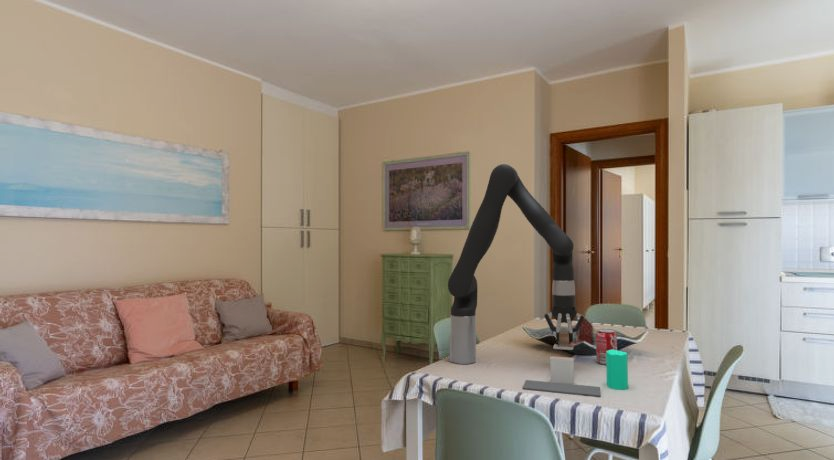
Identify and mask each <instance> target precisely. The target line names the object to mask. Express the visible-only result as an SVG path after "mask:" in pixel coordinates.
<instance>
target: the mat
mask: <svg viewBox="0 0 834 460" xmlns="http://www.w3.org/2000/svg"><path fill="white" fill-rule="evenodd" d="M522 390H524V391H525V390H527V391H535V392H536V391H538V392H546V393H547V392H548V393H556V394H567V395H574V396H575V395H576V396H585V397H586V396H587V397H595V398H601V397H602V394H601V387H600V386H595V385H594V386H593V385H585V384H584V385H583V384H575V383H574V384H564V383H553V382H551V381H544V380H543V381H541V380H529V379H525V381H524V383H523V385H522Z"/></svg>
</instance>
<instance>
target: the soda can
mask: <svg viewBox="0 0 834 460" xmlns="http://www.w3.org/2000/svg"><path fill="white" fill-rule="evenodd" d="M595 347H596V348H595V349H596V350H595V352H596V353H595V354H596V356H595V357H596V361H597V362H598V363H599V364H600V365H603V366H606V351H608V350H616V347H617V348H618V337H617V334H616V331H615V330H614V329H612V328H599V329H597V333H596V335H595Z"/></svg>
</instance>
